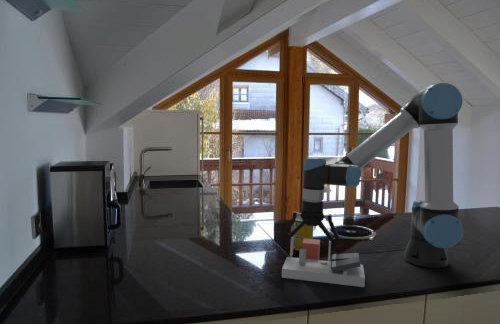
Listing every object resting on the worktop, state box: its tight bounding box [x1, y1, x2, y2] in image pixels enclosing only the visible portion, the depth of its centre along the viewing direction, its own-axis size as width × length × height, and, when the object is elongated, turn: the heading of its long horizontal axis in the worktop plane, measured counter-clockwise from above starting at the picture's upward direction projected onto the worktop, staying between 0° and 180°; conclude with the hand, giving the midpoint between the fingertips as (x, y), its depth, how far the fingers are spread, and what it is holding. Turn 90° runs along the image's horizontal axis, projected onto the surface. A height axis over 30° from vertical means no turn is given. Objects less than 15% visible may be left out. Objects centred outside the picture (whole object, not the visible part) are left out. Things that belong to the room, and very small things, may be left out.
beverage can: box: [290, 216, 314, 252], centre depth 156 cm, size 9×9×12 cm
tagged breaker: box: [330, 252, 360, 262], centre depth 128 cm, size 9×5×2 cm, turn 76°
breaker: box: [331, 256, 361, 272], centre depth 122 cm, size 9×5×2 cm, turn 76°
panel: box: [281, 249, 366, 288], centre depth 127 cm, size 26×12×8 cm, turn 77°
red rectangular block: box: [302, 238, 321, 260], centre depth 139 cm, size 6×6×8 cm
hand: (310, 257), depth 139 cm, fingers open, 13 cm apart
